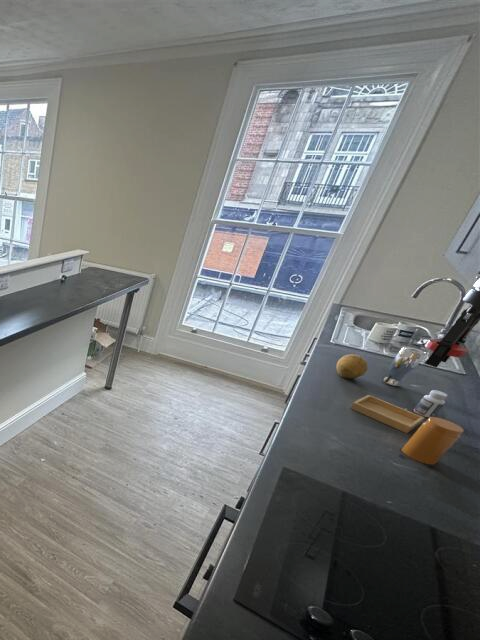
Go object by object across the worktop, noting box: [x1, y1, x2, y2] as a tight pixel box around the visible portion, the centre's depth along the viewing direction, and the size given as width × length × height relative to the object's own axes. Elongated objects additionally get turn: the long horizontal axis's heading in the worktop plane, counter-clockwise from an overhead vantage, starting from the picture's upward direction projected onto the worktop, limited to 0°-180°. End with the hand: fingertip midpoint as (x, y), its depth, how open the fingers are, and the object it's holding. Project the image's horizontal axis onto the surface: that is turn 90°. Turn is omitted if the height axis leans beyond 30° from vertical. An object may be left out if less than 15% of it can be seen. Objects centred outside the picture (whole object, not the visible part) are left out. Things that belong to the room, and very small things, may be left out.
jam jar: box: [401, 416, 465, 466], centre depth 116 cm, size 8×8×12 cm
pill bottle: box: [413, 389, 448, 419], centre depth 140 cm, size 5×5×9 cm
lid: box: [424, 338, 469, 358], centre depth 121 cm, size 8×8×2 cm
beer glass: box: [380, 346, 426, 387], centre depth 158 cm, size 7×7×15 cm
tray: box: [349, 394, 425, 434], centre depth 138 cm, size 16×14×2 cm
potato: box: [335, 353, 369, 379], centre depth 162 cm, size 10×13×9 cm
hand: (435, 362), depth 124 cm, fingers closed on lid, 8 cm apart
